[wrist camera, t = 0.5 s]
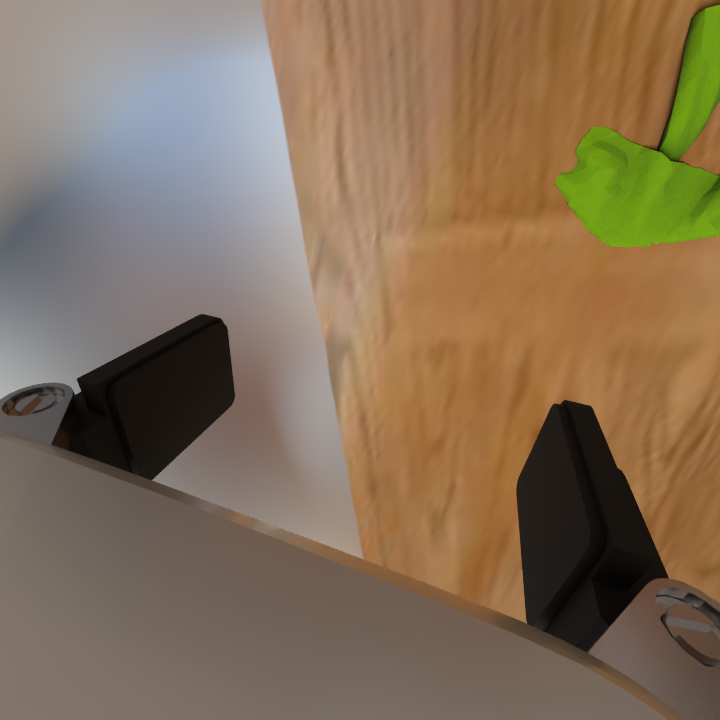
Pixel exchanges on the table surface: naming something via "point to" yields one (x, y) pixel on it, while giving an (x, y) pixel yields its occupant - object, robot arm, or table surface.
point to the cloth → (655, 163)
